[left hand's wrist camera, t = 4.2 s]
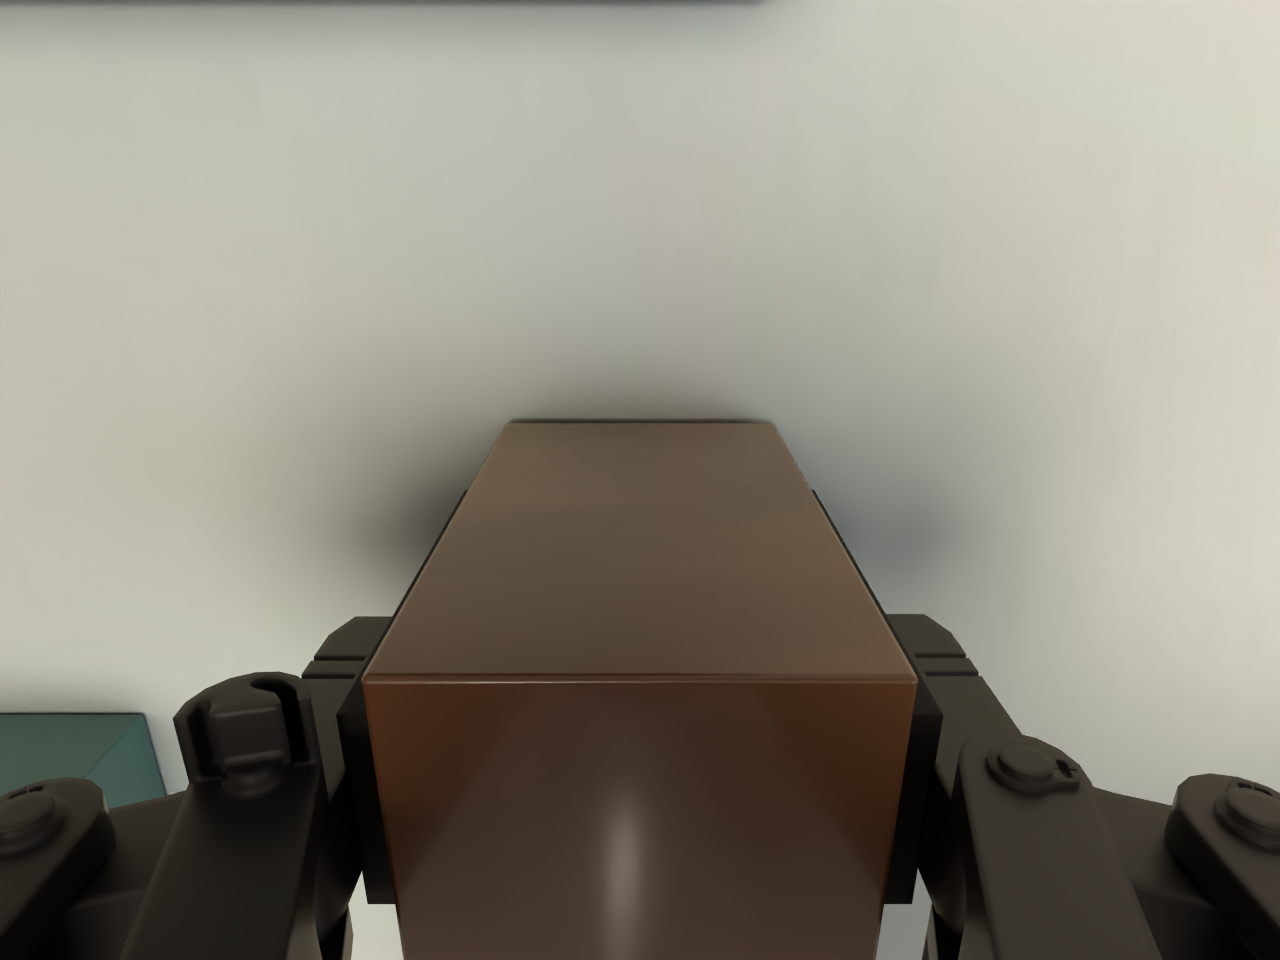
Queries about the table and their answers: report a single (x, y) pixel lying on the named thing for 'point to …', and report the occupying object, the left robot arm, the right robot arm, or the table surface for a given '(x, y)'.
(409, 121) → the table surface
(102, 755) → the teal block
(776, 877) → the walnut block
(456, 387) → the table surface
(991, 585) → the table surface
